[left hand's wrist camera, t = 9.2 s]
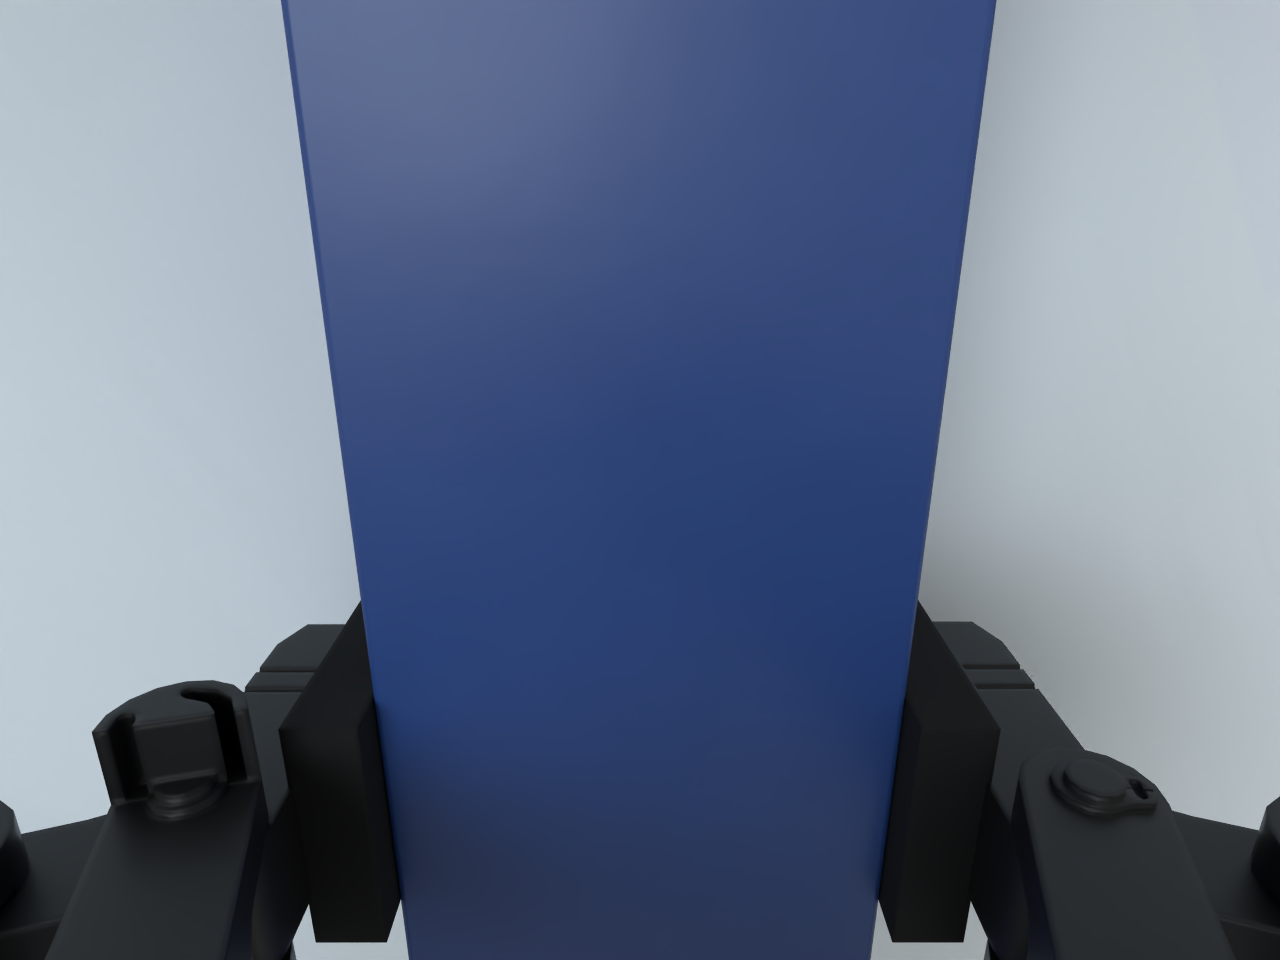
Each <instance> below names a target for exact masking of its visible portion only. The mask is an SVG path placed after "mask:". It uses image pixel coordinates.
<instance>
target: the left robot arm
mask: <svg viewBox="0 0 1280 960" xmlns="http://www.w3.org/2000/svg"><path fill="white" fill-rule="evenodd" d="M1034 685H1035V684H1034V683H1033V681H1032V680H1031V679H1030V678H1029V676H1028V675H1027V674H1026V672H1025V671H1024V670H1023V669H1020V664H1019V663H1018V662H1017V661H1016V659H1015V658H1014V657H1013V655H1012V654H1011V653H1010V651H1009V650H1008V649H1007V647H1006V646H1005V645H1004V643H1003V642H1002V641H1000V640H999V639H997V638H996V637H994V636H993V635H991V634H990V633H988V632H987V631H985V630H984V629H982V628H981V627H979V626H977V625H976V624H974V623H973V622H932V621H931V619H930V618H929V616H928V615H927V613H926V612H925V610H924V609H923V607H922V605H921V604H920V602H919V601H917V608H916V616H915V624H914V631H913V639H912V646H911V654H910V662H909V669H908V677H907V684H906V692H905V700H904V707H903V715H902V722H901V730H900V738H899V745H898V753H897V760H896V768H895V776H894V783H893V791H892V798H891V806H890V814H889V821H888V829H887V836H886V844H885V852H884V859H883V867H882V875H881V882H880V890H879V897H878V899H879V903H880V906H881V909H882V912H883V915H884V918H885V921H886V924H887V927H888V930H889V933H890V936H891V939H892V942H963V941H964V936H965V930H966V924H967V919H968V913H969V907H970V902H972V904H973V907H974V909H975V911H976V913H977V915H978V918H979V920H980V922H981V924H982V927H983V929H984V931H985V933H986V935H987V938H988V940H987V945H986V951H985V956H984V960H1280V797H1278V798H1277V799H1276V800H1275V801H1273V802H1272V803H1271V804H1269V805H1268V806H1267V807H1266V810H1265V813H1264V817H1263V820H1262V823H1261V826H1260V829H1259V830H1254V829H1249V828H1245V827H1240V826H1235V825H1231V824H1226V823H1221V822H1217V821H1212V820H1207V819H1203V818H1198V817H1193V816H1190V815H1186V814H1182V813H1179V812H1175V811H1172V810H1171V807H1170V805H1169V803H1168V802H1167V800H1166V799H1165V798H1164V796H1163V795H1162V793H1161V792H1160V791H1159V789H1158V788H1157V787H1156V785H1155V784H1153V783H1152V782H1151V781H1149V780H1148V779H1147V778H1145V777H1144V776H1143V775H1141V774H1140V773H1139V772H1138V771H1136V770H1135V769H1134V768H1131V767H1129V766H1127V765H1125V764H1123V763H1121V762H1119V761H1117V760H1115V759H1112V758H1110V757H1108V756H1106V755H1102V754H1098V753H1094V752H1090V751H1087V750H1084V748H1083V747H1082V746H1081V744H1080V743H1079V742H1078V740H1077V739H1076V738H1075V737H1074V735H1073V734H1072V733H1071V731H1070V730H1069V729H1068V727H1067V726H1066V725H1065V723H1064V722H1063V721H1062V720H1061V718H1060V717H1059V716H1058V714H1057V713H1056V712H1055V710H1054V709H1053V708H1052V706H1051V705H1050V704H1049V702H1048V701H1047V700H1046V699H1045V697H1044V696H1043V695H1042V693H1041V692H1040V691H1039V689H1035V687H1034ZM92 735H93V739H94V742H95V746H96V750H97V754H98V757H99V761H100V765H101V768H102V772H103V776H104V780H105V783H106V787H107V791H108V794H109V798H110V802H111V807H110V809H109V811H108V814H107V815H103V816H100V817H96V818H92V819H89V820H85V821H80V822H75V823H71V824H66V825H62V826H57V827H52V828H48V829H43V830H38V831H34V832H29V833H24V834H21V833H20V830H19V826H18V823H17V820H16V817H15V814H14V811H13V810H12V809H11V808H10V807H8V806H7V805H6V804H4V803H3V802H2V801H0V960H296V956H295V951H294V945H293V938H294V936H295V933H296V931H297V929H298V927H299V925H300V922H301V920H302V918H303V916H304V913H305V911H306V909H307V907H308V904H309V907H310V912H311V918H312V924H313V929H314V935H315V940H316V942H387V940H388V937H389V934H390V931H391V928H392V925H393V921H394V918H395V915H396V912H397V909H398V906H399V903H400V900H401V895H400V887H399V880H398V872H397V865H396V857H395V850H394V842H393V835H392V828H391V820H390V813H389V805H388V798H387V790H386V783H385V775H384V768H383V760H382V753H381V745H380V738H379V730H378V723H377V715H376V708H375V700H374V693H373V685H372V678H371V670H370V663H369V655H368V648H367V641H366V633H365V626H364V618H363V611H362V603H361V601H360V603H359V604H358V606H357V607H356V609H355V610H354V612H353V613H352V615H351V617H350V618H349V620H348V621H347V623H346V624H308V625H306V626H305V627H303V628H302V629H300V630H299V631H297V632H296V633H294V634H293V635H291V636H290V637H288V638H287V639H285V640H283V641H282V642H280V643H279V644H277V646H276V647H275V648H274V650H273V651H272V652H271V654H270V655H269V656H268V658H267V659H266V660H265V662H264V663H263V664H262V666H261V667H260V672H256V673H255V675H254V676H253V677H252V679H251V680H250V681H249V683H248V684H247V685H246V687H245V692H242V691H241V690H240V689H238V688H237V687H236V686H234V685H232V684H228V683H223V682H218V681H214V680H208V681H186V682H182V683H177V684H173V685H169V686H164V687H160V688H156V689H154V690H152V691H149V692H147V693H144V694H142V695H140V696H137V697H135V698H132V699H130V700H128V701H127V702H125V703H124V704H122V705H121V706H119V707H118V708H116V709H115V710H113V711H112V712H110V713H109V714H107V715H106V716H105V717H104V718H103V719H102V721H101V722H100V723H99V724H98V725H97V727H96V728H95V729H94V730H93V731H92Z"/></svg>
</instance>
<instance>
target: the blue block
mask: <svg viewBox="0 0 1280 960" xmlns="http://www.w3.org/2000/svg"><path fill="white" fill-rule="evenodd" d="M281 4H282V12H283V19H284V27H285V34H286V42H287V49H288V57H289V64H290V72H291V79H292V87H293V94H294V102H295V109H296V117H297V124H298V132H299V139H300V147H301V154H302V162H303V169H304V177H305V184H306V191H307V199H308V206H309V214H310V221H311V229H312V236H313V244H314V251H315V259H316V266H317V274H318V281H319V289H320V296H321V304H322V311H323V319H324V326H325V334H326V341H327V349H328V356H329V364H330V371H331V379H332V386H333V394H334V401H335V409H336V416H337V423H338V431H339V438H340V446H341V453H342V461H343V468H344V476H345V483H346V491H347V498H348V506H349V513H350V521H351V528H352V536H353V543H354V551H355V558H356V566H357V573H358V581H359V588H360V596H361V603H362V611H363V618H364V626H365V633H366V641H367V648H368V655H369V663H370V670H371V678H372V685H373V693H374V700H375V708H376V715H377V723H378V730H379V738H380V745H381V753H382V760H383V768H384V775H385V783H386V790H387V798H388V805H389V813H390V820H391V828H392V835H393V842H394V850H395V857H396V865H397V872H398V880H399V887H400V895H401V902H402V910H403V917H404V925H405V932H406V940H407V947H408V955H409V960H870V958H871V951H872V943H873V936H874V928H875V920H876V913H877V905H878V897H879V890H880V882H881V875H882V867H883V859H884V852H885V844H886V836H887V829H888V821H889V814H890V806H891V798H892V791H893V783H894V776H895V768H896V760H897V753H898V745H899V738H900V730H901V722H902V715H903V707H904V700H905V692H906V684H907V677H908V669H909V662H910V654H911V646H912V639H913V631H914V624H915V616H916V608H917V601H918V593H919V586H920V578H921V570H922V563H923V555H924V548H925V540H926V532H927V525H928V517H929V510H930V502H931V494H932V487H933V479H934V472H935V464H936V456H937V449H938V441H939V433H940V426H941V418H942V411H943V403H944V395H945V388H946V380H947V373H948V365H949V357H950V350H951V342H952V335H953V327H954V319H955V312H956V304H957V297H958V289H959V281H960V274H961V266H962V259H963V251H964V243H965V236H966V228H967V220H968V213H969V205H970V198H971V190H972V182H973V175H974V167H975V160H976V152H977V144H978V137H979V129H980V122H981V114H982V106H983V99H984V91H985V84H986V76H987V68H988V61H989V53H990V46H991V38H992V30H993V23H994V15H995V8H996V0H281Z"/></svg>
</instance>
